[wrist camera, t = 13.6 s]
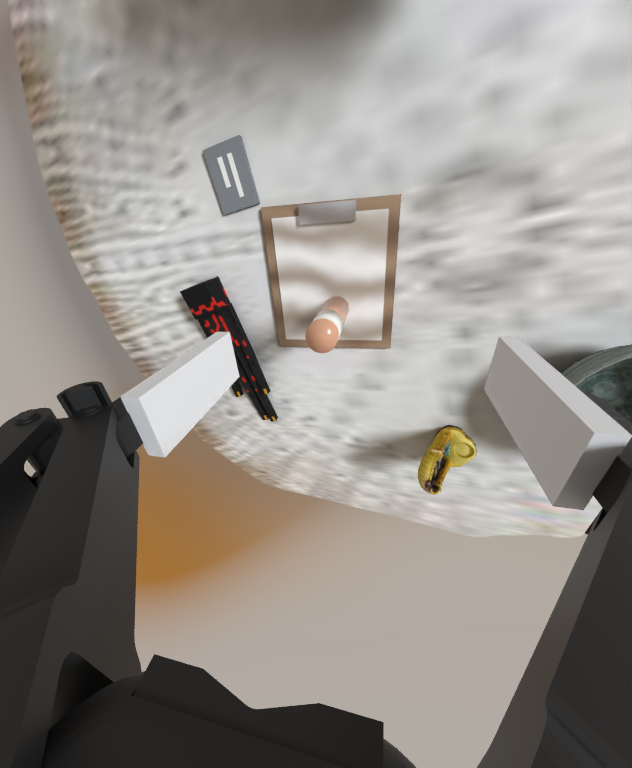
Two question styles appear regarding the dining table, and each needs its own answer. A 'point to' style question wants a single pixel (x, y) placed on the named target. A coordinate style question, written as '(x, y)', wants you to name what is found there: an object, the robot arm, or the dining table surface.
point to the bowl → (606, 377)
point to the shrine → (444, 457)
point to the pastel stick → (327, 325)
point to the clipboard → (334, 266)
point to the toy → (221, 317)
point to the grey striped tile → (231, 175)
